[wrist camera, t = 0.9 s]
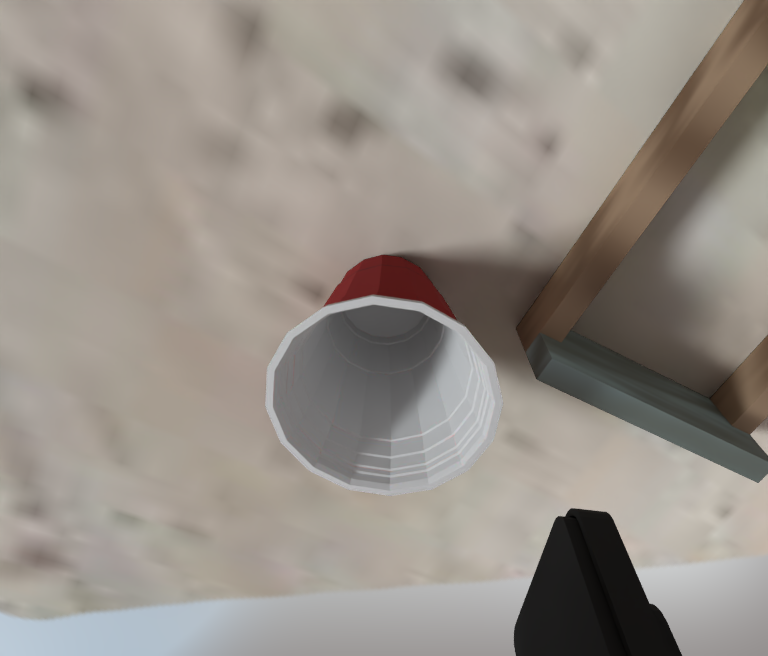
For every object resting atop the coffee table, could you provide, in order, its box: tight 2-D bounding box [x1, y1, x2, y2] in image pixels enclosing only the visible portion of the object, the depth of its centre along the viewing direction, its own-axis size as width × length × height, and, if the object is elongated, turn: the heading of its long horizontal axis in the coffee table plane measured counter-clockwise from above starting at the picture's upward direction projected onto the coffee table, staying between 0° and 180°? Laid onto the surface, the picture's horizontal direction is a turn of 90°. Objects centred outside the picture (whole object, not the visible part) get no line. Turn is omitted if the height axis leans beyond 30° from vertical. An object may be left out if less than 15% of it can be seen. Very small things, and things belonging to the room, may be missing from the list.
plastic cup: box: [265, 255, 503, 496], centre depth 33 cm, size 11×11×12 cm
